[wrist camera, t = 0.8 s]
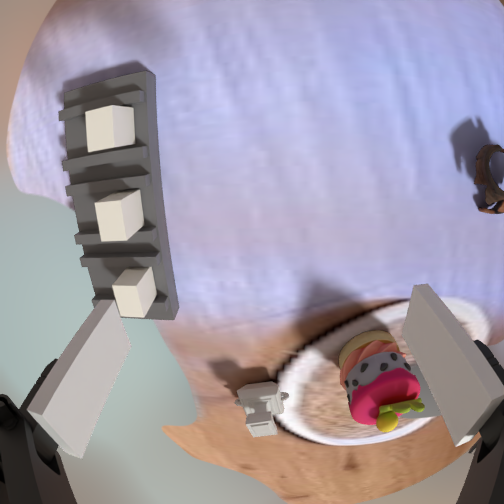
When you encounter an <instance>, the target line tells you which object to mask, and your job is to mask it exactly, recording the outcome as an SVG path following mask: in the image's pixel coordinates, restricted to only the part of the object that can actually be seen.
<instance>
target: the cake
mask: <svg viewBox="0 0 504 504" xmlns="http://www.w3.org/2000/svg"><path fill="white" fill-rule="evenodd" d="M405 356H406V354H405V353H402V352H400V350H399V347H398V345H397V343H396V341H395V339H394V337H393V336H392V335H391V334H390V333H388V332H385V331H383V330H372V331H368V332H364V333H362V334H360V335H357V336H355V337H354V338H353V339H351V340H350V341H349V342H347V343H346V345H345V346H344V347H343V349H342V350H341V352H340V355H339V366H340V370H341V371H340V384H341V385H342V386H343V388H344V389H345V390H346V391H347V397H348V401H349V402H348V404H349V408H350V412H351V415H352V417H353V419H354V420H355V421H357V422H358V423H361V424H366V425H374V424H376V426H377V428H378V429H379V430H380V431H382V432H389V431H392V430H393V429H394V428H395V427H396V426H397V424H398V416H400V415H401V414H403V413H407V412H409V411H410V408H411V409H412V410H414V411H417V412H422V411H423V410H424V408H425V406H424V404H423V403H421V401H422V400H421V398H418V396H419V393H420V384H419V382H418V380H417V378H416V376H415V375H413V373H412V372H411V368H410V366H409V364H408V363H407V362H406V360H405ZM417 398H418V399H417Z"/></svg>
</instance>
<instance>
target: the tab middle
mask: <svg viewBox="0 0 504 504" xmlns="http://www.w3.org/2000/svg"><path fill="white" fill-rule="evenodd" d="M95 209H96V215H97V220H98V226H99V231H100V236H101V241H127V240H128V239H129V238H130V237H131V236H132V235H133V234H135V233H136V232H137V231H138V230H139V229H140V228H141V227H142V226H143V225H144V217H143V210H142V202H141V194H140V189H138V190H128V191H118V192H115V193H113V194H111V195H109V196H107V197H105V198H103V199H101V200H99V201H97V202H95Z"/></svg>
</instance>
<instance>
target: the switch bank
mask: <svg viewBox="0 0 504 504" xmlns="http://www.w3.org/2000/svg"><path fill="white" fill-rule="evenodd" d="M111 105H115V106H123V107H132V108H133V109H134V128H135V143H136V144H132V145H125V146H120V147H114V148H108V149H103V150H97V151H92V152H88V146H87V132H86V114H85V112H87V111H90V110H94V109H98V108H102V107H107V106H111ZM59 121H65V132H66V145H67V156H68V160H65V161H62V165H63V171H68V170H69V174H70V181H71V184H70V185H68V186H65V188H66V194H67V196H73V201H74V207H75V212H76V217H77V223H78V228H79V232H78V233H77V234H75V235H74V236H75V241H76V244H82V246H83V250H84V255H83V256H82V257H80V261H81V265H82V267H88V270H89V274H90V277H91V281H92V285H93V288H94V292H95V297H94V298H93V299H92V303H93V306H94V308H95V307H96V305H97V304H98V303H99V302H100V300H115V303H116V306H117V309H118V305H117V302H116V298H115V295H114V291H113V287H112V285H113V284H114V282H115V281H116V280H117V279H118V278H119V276H120V275H121V274H122V273H123V272H124V270H125V269H126V268H127V267H152V271H153V276H154V282H155V287H156V291H157V295H156V297H155V299H154V301H153V303H152V304H151V306H150V308H149V310H148V312H147V314H146V315H145V317H144V318H142V317H124V316H120V317H121V318H138V319H158V320H174V319H175V317H176V314H177V312H178V309H179V303H178V297H177V292H176V286H175V280H174V274H173V268H172V261H171V255H170V248H169V241H168V233H167V226H166V218H165V209H164V200H163V191H162V181H161V170H160V159H159V145H158V130H157V110H156V77H155V75H154V74H152V73H150V72H148V71H142V72H137V73H133V74H128V75H124V76H120V77H116V78H112V79H108V80H104V81H101V82H97V83H94V84H90V85H87V86H84V87H81V88H77V89H74V90H71V91H68V92H65V93H64V110H61V111H59ZM138 189H140V194H141V202H142V210H143V217H144V225H143V226H142V227H141V228H140V229H139V230H138V231H137V232H136V233H135V234H133V235H132V236H131V237H130V238H129V239H128V240H127V241H101V236H100V231H99V226H98V220H97V215H96V209H95V202H97V201H99V200H101V199H103V198H105V197H107V196H109V195H111V194H113V193H115V192H118V191H128V190H138ZM118 312H119V309H118ZM119 314H120V312H119Z"/></svg>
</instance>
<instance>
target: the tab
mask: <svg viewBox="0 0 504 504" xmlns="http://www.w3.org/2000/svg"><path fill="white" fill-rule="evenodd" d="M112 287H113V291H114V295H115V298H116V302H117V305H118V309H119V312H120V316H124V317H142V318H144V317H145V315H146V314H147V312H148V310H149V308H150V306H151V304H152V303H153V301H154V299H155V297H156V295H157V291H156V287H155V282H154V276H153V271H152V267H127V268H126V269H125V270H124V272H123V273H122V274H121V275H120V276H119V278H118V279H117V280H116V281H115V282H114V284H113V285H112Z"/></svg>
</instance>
